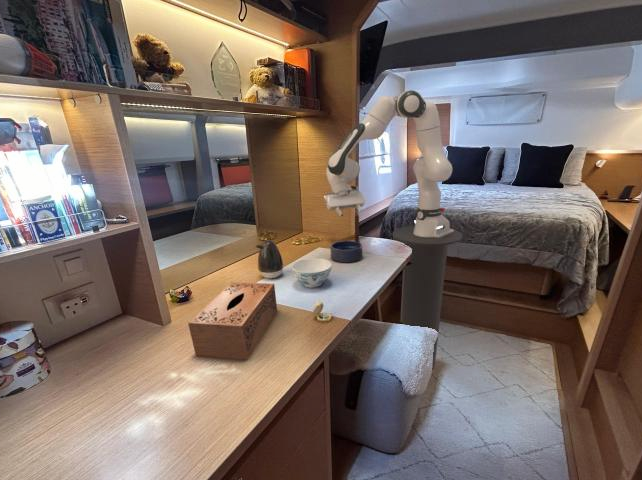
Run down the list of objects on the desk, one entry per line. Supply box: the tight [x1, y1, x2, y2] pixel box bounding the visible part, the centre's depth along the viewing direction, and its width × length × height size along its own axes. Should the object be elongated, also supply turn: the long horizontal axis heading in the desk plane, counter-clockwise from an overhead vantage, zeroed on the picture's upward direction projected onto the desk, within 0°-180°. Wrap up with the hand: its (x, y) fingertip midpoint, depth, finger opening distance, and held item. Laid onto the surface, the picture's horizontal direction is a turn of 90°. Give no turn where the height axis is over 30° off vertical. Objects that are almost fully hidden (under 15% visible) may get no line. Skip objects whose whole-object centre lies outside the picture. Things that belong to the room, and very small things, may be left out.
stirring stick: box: [354, 214, 361, 243], centre depth 166 cm, size 3×3×16 cm
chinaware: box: [291, 257, 333, 288], centre depth 128 cm, size 15×15×8 cm
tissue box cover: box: [188, 281, 278, 361], centre depth 98 cm, size 26×14×10 cm, turn 170°
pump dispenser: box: [255, 239, 285, 279], centre depth 136 cm, size 10×10×15 cm
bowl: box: [329, 240, 363, 263], centre depth 154 cm, size 14×14×6 cm
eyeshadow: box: [312, 301, 332, 323], centre depth 104 cm, size 4×5×5 cm
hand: (350, 214), depth 170 cm, fingers open, 8 cm apart
